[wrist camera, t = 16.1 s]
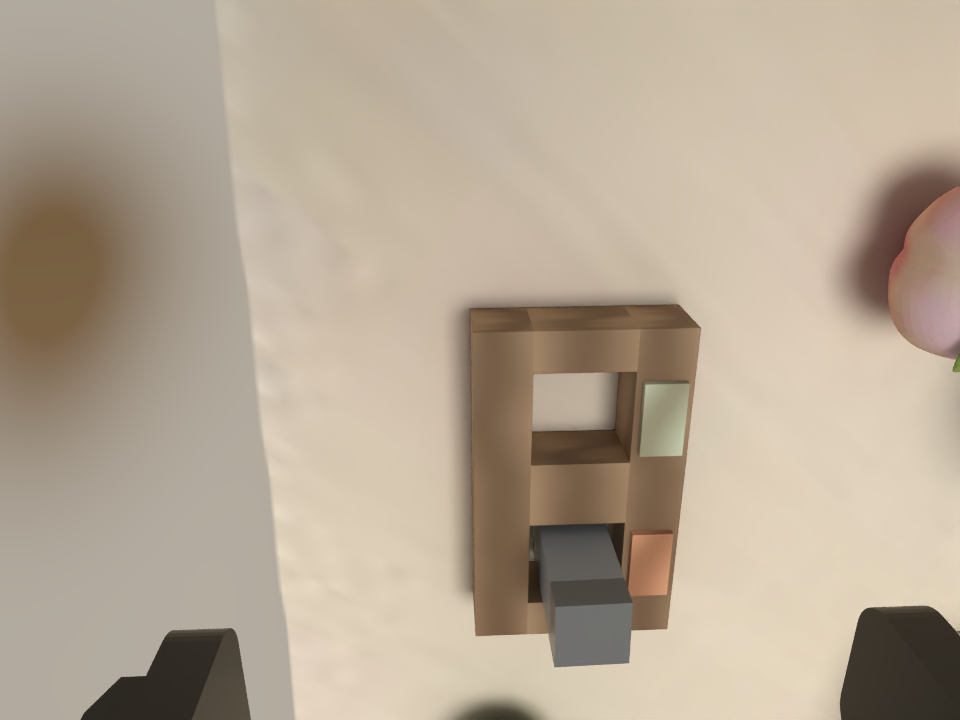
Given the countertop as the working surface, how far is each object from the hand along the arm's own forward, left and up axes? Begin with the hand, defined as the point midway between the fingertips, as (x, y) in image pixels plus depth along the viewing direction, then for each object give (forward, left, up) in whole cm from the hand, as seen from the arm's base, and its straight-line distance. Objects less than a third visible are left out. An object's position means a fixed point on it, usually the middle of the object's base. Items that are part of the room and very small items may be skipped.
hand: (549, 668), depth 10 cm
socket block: (-6, +16, -33) cm, 37 cm away
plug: (-6, +21, -33) cm, 40 cm away
